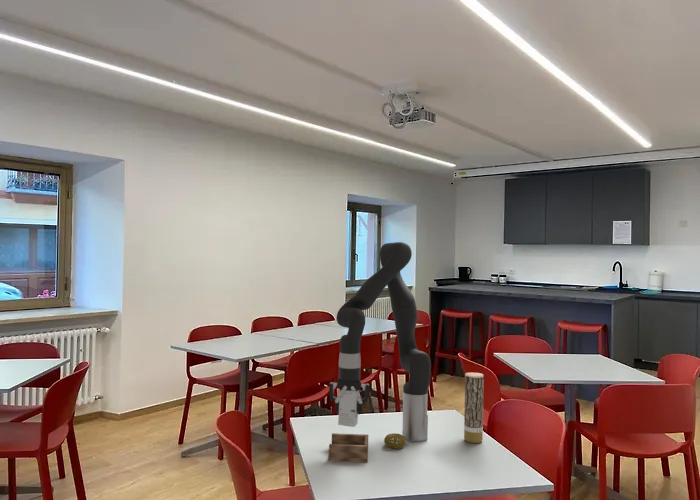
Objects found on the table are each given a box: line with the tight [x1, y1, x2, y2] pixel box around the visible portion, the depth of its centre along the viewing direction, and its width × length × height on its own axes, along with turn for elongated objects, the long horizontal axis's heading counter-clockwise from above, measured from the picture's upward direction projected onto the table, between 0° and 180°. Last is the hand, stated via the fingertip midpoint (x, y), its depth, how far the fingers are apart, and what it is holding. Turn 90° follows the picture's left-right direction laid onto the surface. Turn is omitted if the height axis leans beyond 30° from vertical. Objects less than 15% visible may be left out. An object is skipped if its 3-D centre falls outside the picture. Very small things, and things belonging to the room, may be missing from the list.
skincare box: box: [337, 389, 360, 428], centre depth 181 cm, size 6×4×12 cm
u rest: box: [328, 432, 369, 463], centre depth 181 cm, size 13×12×5 cm
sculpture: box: [383, 432, 407, 450], centre depth 190 cm, size 8×4×8 cm
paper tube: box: [463, 372, 485, 444], centre depth 198 cm, size 7×7×25 cm
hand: (348, 413), depth 181 cm, fingers closed on skincare box, 6 cm apart
